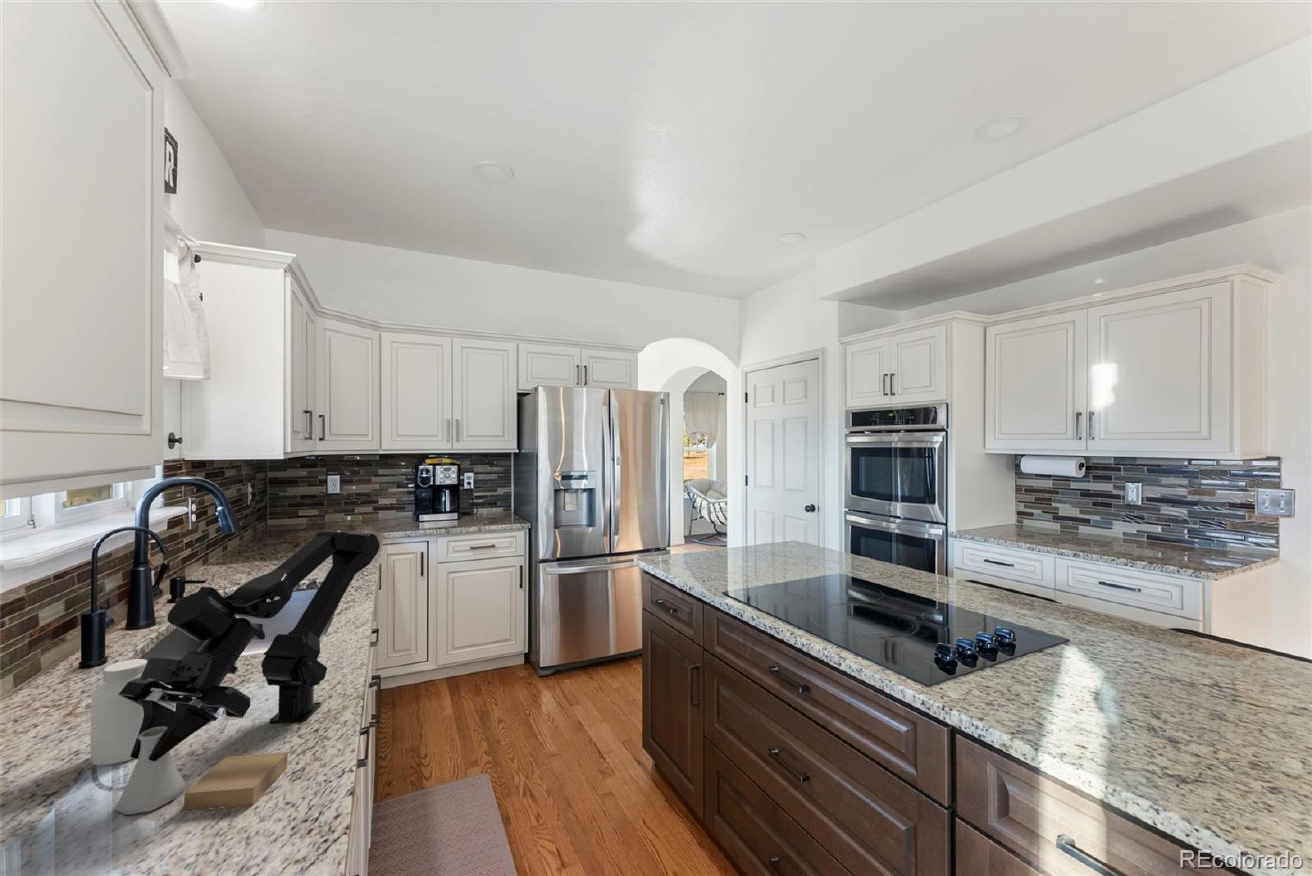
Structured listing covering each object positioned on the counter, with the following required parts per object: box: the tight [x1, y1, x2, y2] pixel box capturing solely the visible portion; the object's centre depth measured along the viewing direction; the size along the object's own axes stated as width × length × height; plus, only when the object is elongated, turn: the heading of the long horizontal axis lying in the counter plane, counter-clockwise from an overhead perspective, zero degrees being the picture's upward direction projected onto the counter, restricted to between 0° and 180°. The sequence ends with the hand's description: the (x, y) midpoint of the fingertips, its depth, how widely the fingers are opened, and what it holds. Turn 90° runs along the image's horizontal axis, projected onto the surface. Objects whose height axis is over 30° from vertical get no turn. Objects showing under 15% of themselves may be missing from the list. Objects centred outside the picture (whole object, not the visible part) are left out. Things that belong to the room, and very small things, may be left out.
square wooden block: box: [183, 752, 288, 812], centre depth 80 cm, size 9×9×3 cm
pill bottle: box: [89, 658, 152, 767], centre depth 89 cm, size 8×8×15 cm
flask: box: [114, 726, 188, 816], centre depth 77 cm, size 7×7×10 cm
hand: (142, 759), depth 76 cm, fingers closed on flask, 3 cm apart
